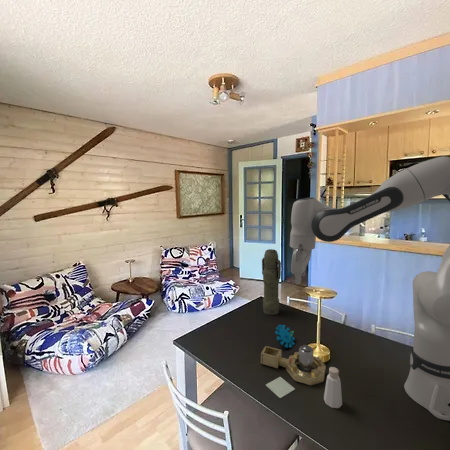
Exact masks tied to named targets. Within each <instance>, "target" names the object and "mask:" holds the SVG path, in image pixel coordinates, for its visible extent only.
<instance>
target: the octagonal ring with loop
mask: <svg viewBox="0 0 450 450" xmlns="http://www.w3.org/2000/svg"><path fill="white" fill-rule="evenodd" d="M282 355H283V353H282V349H279V348H276V347H271V346H268V345H265V346H264V347H263V349H262V351H261V353H260V364H261V365H265V366H268V367H272V368H274V369H279V367H282V368H285V369H286V370H285V371H286V372H287V374H289V376H290V377H291V378H292V379H293V380H294V381H295V382H299V383H302V384H305V385H308V386H313V385H317V384H321V383H323V382H324V381H325V377H326V368H327V367H326V364H325V363H324V362H322V360H323V359H321V358H320V356H314V355H313V370H311V373H307V372H303V371H300V370H298V368H297V367H298V366H299V351H296V352H293V354H292V355H289V357H288V358H285V357H282ZM297 365H298V366H297Z"/></svg>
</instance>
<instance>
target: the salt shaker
mask: <svg viewBox="0 0 450 450" xmlns="http://www.w3.org/2000/svg"><path fill="white" fill-rule="evenodd" d="M328 369H329V370H328V374H327V376H326V382H325V387H324V393H323V400H324V402H325V403H324V404H326V405H327V406H328V407H330V408H332V409H340V408H341V406H343V397H342V384H341V378H340V376H339V373H340V369H338V368H336V367H334V366H330V367H329V368H328Z"/></svg>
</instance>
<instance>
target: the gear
mask: <svg viewBox="0 0 450 450" xmlns="http://www.w3.org/2000/svg"><path fill="white" fill-rule="evenodd" d="M275 330H276V331H275V335H276V336H277V337H276V341H278V342H279V344H280V345H281V346H283V345H284V348H286V349H288V348H290V349H291V348H293V346H295V340H296V339H295V337H293V335H294V333H295V332H294V330H291V329H290V327H288V326H287V328H286V325H285V324H278V325H277V326H276V328H275ZM289 331H290V332H289ZM284 343H285V344H284Z"/></svg>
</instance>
